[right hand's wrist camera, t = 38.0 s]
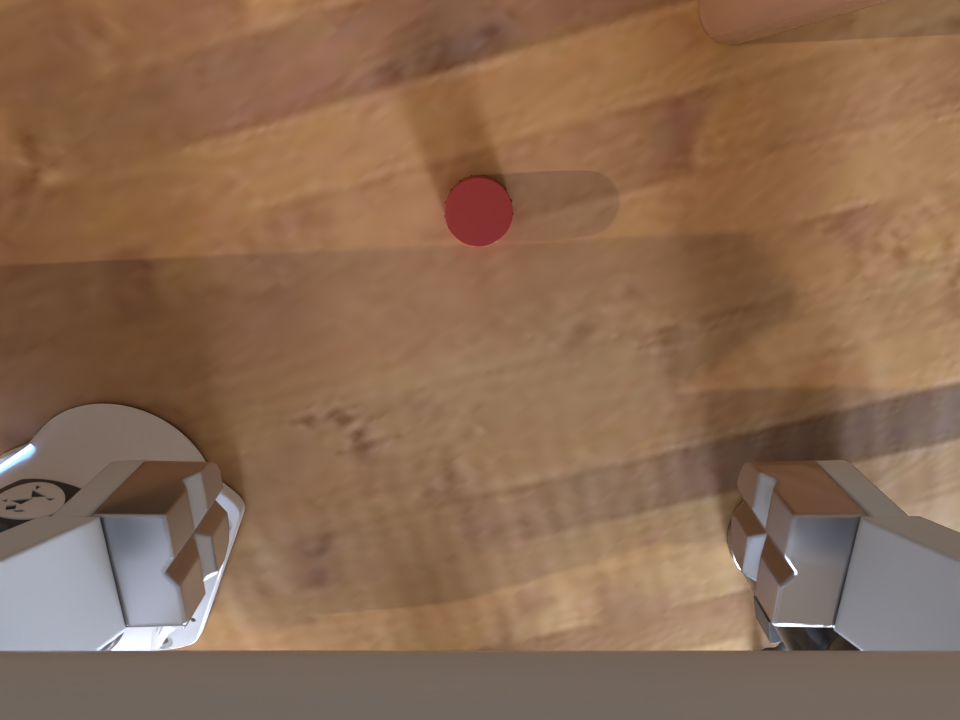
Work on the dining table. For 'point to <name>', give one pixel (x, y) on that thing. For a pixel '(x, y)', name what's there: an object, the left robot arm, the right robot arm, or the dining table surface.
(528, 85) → the dining table surface
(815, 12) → the bottle
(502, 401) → the dining table surface
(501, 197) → the cap
